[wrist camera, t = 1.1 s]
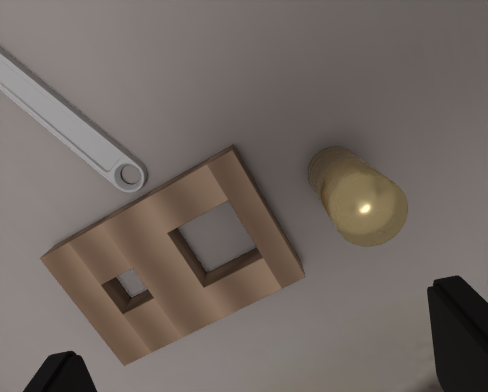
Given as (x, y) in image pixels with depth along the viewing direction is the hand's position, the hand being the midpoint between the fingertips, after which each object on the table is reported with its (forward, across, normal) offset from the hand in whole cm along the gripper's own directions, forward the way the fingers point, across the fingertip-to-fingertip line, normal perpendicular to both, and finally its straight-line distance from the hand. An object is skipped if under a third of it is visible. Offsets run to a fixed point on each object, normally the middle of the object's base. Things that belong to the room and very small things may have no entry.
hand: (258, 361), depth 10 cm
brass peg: (+22, -6, +2) cm, 23 cm away
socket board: (+22, +8, +6) cm, 25 cm away
